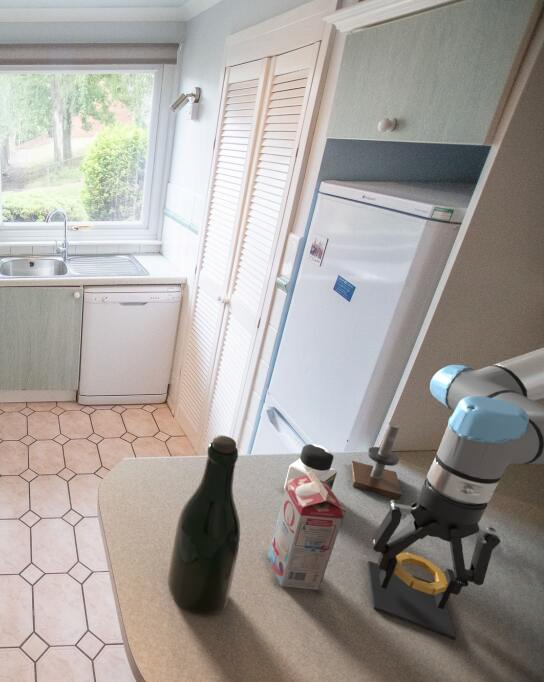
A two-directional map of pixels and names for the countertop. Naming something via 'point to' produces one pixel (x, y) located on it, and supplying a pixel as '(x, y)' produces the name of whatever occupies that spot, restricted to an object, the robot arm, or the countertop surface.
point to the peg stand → (379, 468)
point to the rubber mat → (409, 603)
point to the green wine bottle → (207, 536)
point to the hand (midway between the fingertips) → (409, 591)
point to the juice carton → (305, 532)
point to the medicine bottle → (313, 464)
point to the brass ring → (431, 588)
